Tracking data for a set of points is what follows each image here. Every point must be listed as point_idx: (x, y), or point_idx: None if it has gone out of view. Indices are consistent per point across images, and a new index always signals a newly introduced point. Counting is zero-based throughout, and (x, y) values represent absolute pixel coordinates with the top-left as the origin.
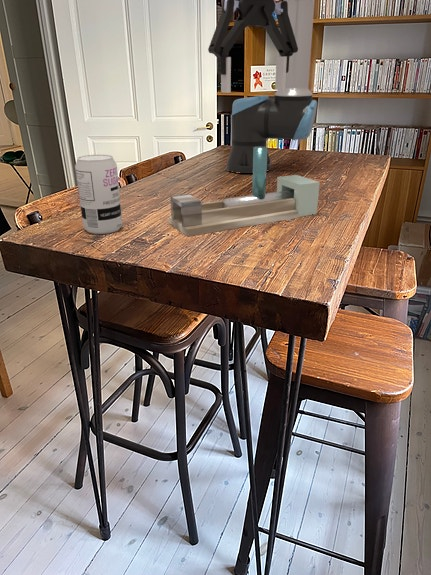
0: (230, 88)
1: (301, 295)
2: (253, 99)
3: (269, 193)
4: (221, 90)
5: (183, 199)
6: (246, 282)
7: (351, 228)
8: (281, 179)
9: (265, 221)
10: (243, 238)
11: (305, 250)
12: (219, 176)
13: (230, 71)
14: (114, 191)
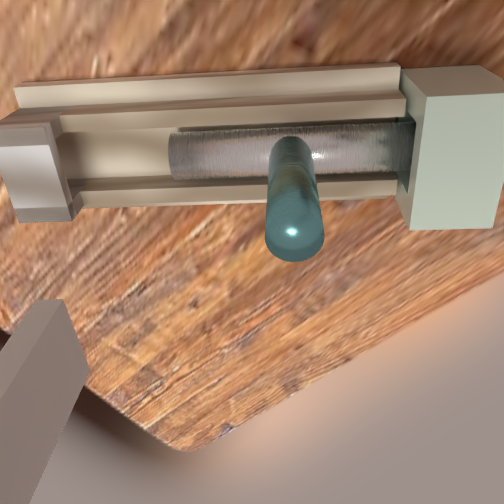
0: (79, 391)
1: (168, 437)
2: None
3: (330, 162)
4: (32, 313)
5: (23, 185)
6: (115, 394)
7: (433, 298)
8: (422, 124)
9: None
10: (178, 258)
11: (260, 347)
12: None
13: (28, 499)
14: None
